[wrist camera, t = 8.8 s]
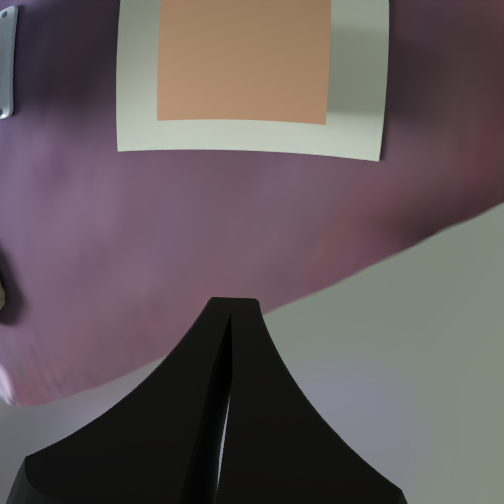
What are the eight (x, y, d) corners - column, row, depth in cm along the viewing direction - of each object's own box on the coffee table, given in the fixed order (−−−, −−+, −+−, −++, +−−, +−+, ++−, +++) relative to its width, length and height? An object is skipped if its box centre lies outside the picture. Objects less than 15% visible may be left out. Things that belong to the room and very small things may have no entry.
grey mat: (121, 149, 16) (117, 151, 16) (130, -43, 11) (126, -46, 10) (375, 159, 16) (378, 161, 16) (383, -35, 11) (387, -39, 10)
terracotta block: (204, 109, 15) (156, 120, 8) (207, 27, 13) (163, -27, 6) (293, 112, 15) (325, 124, 8) (297, 29, 13) (330, -25, 6)
